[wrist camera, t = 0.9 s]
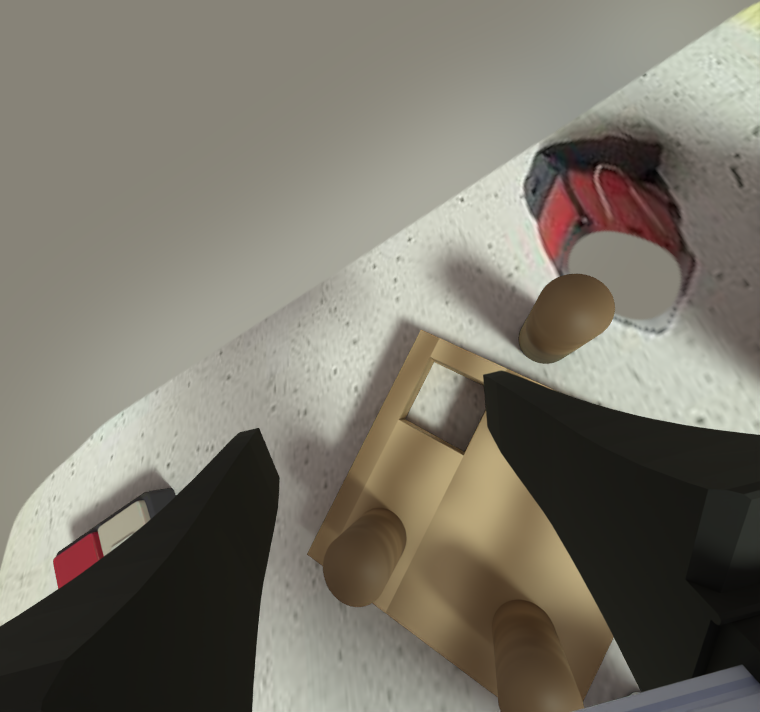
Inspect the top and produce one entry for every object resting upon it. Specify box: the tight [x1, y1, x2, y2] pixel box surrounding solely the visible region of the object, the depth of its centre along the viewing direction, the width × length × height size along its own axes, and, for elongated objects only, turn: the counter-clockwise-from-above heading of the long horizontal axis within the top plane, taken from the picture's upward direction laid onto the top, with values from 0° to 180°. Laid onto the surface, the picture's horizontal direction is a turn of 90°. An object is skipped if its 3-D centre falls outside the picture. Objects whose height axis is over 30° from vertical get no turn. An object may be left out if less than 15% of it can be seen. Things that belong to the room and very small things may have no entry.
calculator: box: [53, 488, 176, 589], centre depth 29 cm, size 11×4×15 cm
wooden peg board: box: [307, 330, 614, 712], centre depth 21 cm, size 18×18×8 cm
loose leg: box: [519, 274, 615, 364], centre depth 22 cm, size 4×4×8 cm
